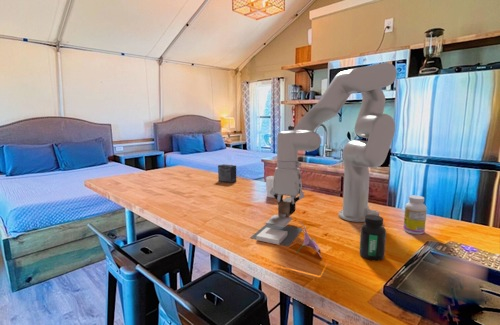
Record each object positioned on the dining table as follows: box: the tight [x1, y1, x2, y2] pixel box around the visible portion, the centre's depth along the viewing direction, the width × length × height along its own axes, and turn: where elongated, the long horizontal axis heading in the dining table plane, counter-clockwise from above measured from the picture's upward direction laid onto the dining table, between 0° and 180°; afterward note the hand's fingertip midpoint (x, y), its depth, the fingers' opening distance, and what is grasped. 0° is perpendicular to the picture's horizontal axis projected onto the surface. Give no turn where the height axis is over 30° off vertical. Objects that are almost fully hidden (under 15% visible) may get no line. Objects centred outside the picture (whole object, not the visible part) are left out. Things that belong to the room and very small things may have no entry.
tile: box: [255, 227, 287, 246], centre depth 96 cm, size 8×2×8 cm
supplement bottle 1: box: [359, 215, 387, 262], centre depth 84 cm, size 7×7×12 cm
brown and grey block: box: [265, 196, 293, 227], centre depth 104 cm, size 7×17×5 cm, turn 153°
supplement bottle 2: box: [403, 194, 428, 236], centre depth 101 cm, size 7×7×13 cm
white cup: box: [265, 175, 276, 199], centre depth 147 cm, size 8×8×10 cm
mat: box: [249, 223, 304, 247], centre depth 100 cm, size 14×16×1 cm
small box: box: [217, 163, 237, 184], centre depth 182 cm, size 11×6×10 cm, turn 58°
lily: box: [295, 220, 322, 258], centre depth 85 cm, size 12×12×10 cm
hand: (286, 211), depth 108 cm, fingers closed on brown and grey block, 3 cm apart
